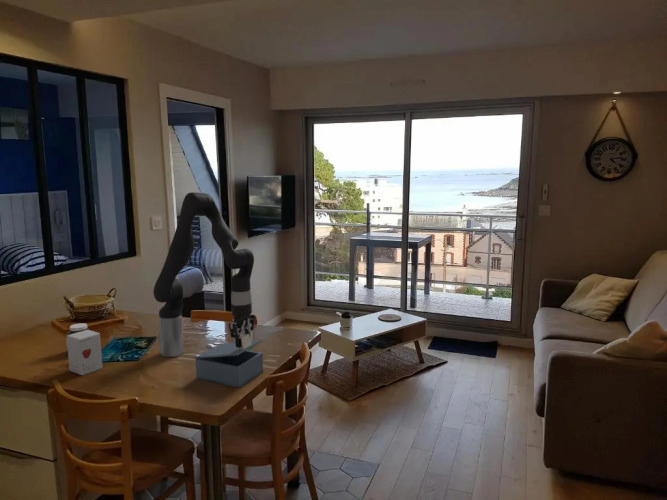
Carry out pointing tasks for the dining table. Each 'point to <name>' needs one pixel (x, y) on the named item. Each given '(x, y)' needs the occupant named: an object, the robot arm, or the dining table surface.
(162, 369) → the dining table surface
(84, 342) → the supplement box
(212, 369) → the carton
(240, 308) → the robot arm
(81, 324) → the spread jar
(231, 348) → the carton flap
